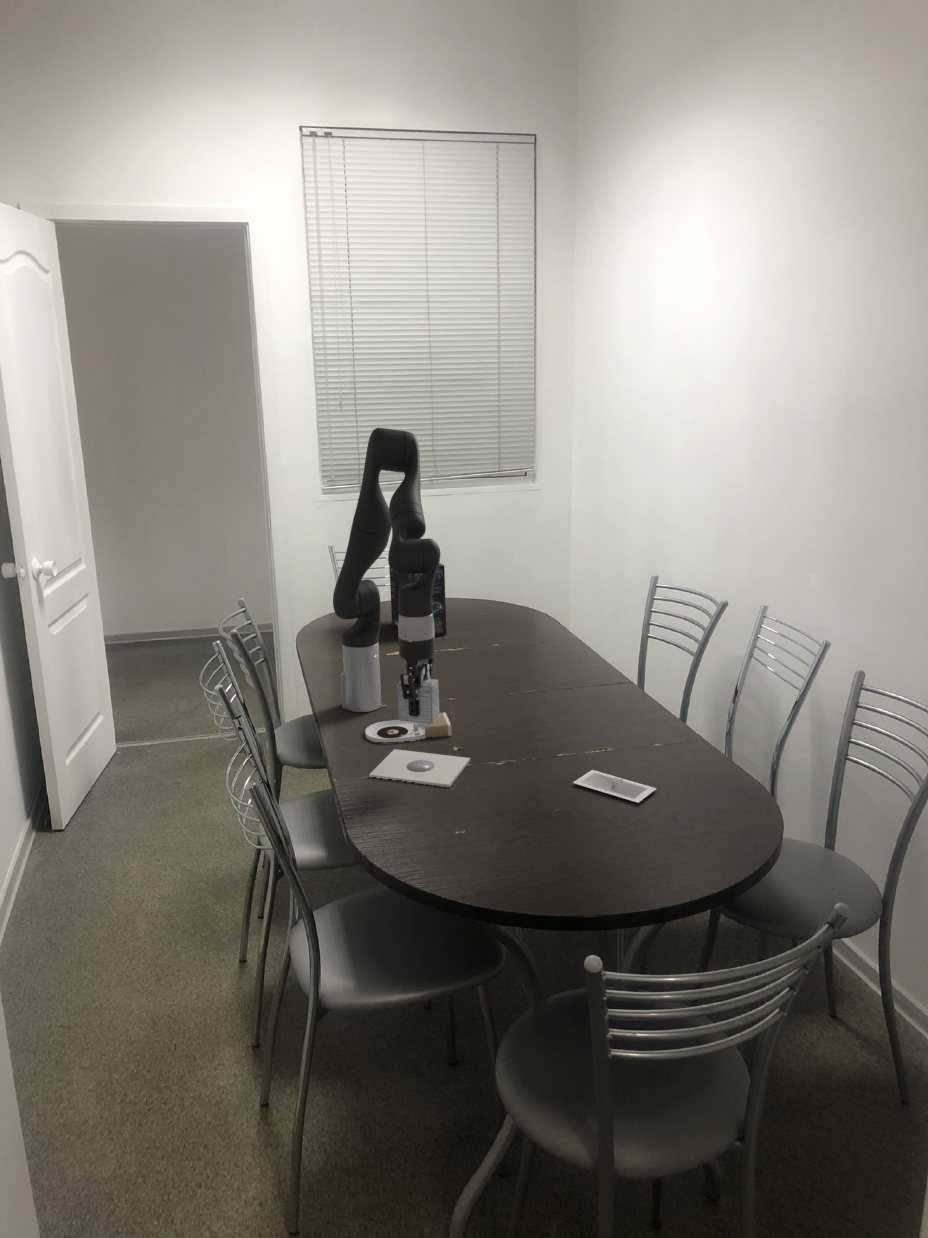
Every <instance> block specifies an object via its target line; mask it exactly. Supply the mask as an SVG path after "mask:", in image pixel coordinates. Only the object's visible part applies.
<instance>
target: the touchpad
mask: <svg viewBox="0 0 928 1238" xmlns="http://www.w3.org/2000/svg"><path fill="white" fill-rule="evenodd" d="M572 784H576V785H579V786H581V787H585V788H589V789H592V790H595V791H599V792H602V793H605V794H608V795H611V796H615V797H617V798H621V799H625V800H627V801H631V802H635V803H640V802H642V801H643V800H644V799H646V797H648V796H649V795H650V794H652V793H653V792H654V791H656V790H657V788H656V787H653V786H649V785H646V784H642V783H639V782H636V781H632V780H629V779H625V778H622V777H619V776H618V777H617V776H615V775H611V774H608V773H604V772H601V771H598V770H594V769H591V770H590V771H588V772H586V773H585V774H584V775H582V776H580V777H579V778H577V779H576V780H574V781H572Z"/></svg>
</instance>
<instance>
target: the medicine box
mask: <svg viewBox="0 0 928 1238" xmlns="http://www.w3.org/2000/svg"><path fill="white" fill-rule="evenodd" d="M414 685H418V683H414ZM396 686H397V707H398V711H397V713H398V720H399V721H406V722H418V723H430V724H434V723H435V721H436V720H437V719H438V718H439V713H440V696H439V695H440V693H439V679H438V678H437V679H435V678H432V679H424V680H423V685H422V688H421V689H420V696H419V701H420V715H419V716H418V717H415V716H410V715H409V701H408V699H403V693H402V687H401V680H399V681H398V683H397V684H396ZM415 691H416V689H415Z"/></svg>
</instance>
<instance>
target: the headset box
mask: <svg viewBox="0 0 928 1238" xmlns="http://www.w3.org/2000/svg"><path fill="white" fill-rule="evenodd" d="M388 568H389V569H388V570H389V585H390V605H391V606H390V609H391V611H390V613H391V625H392V626H393V627H395V628H396V629H398V620H399V601H398V592H399V589H400V588H401V587H402V586H404V585H407V584H410V583H414V582H416V581H418V580H419V579H420V577H421V576H422V573H419V574H397V573H395V572H394V571H392V569H391V568H390V566H388ZM445 575H446V574H445V564H443V563H440V562H439V566H438V569H437V573H436V576H435V581H434V586H433V596H432V599H433V600H432V601H433V619H434V632H435V637H438V636H445V635H448V634H447V633H448V631H447V614H446V613H447V608H446V605H447V604H446V577H445Z"/></svg>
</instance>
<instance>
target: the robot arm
mask: <svg viewBox="0 0 928 1238" xmlns="http://www.w3.org/2000/svg"><path fill="white" fill-rule="evenodd" d="M419 444H420V443H419V440H418V438H417V436H416V434H414V433H413V432H411V431H407V430H401V429H392V428H386V427H376V428H374V429H373V430H372V432H371V433H370V436H369V439H368V443H367V446H366V447H367V448H366V455H365V461H364V467H363V475H362V479H361V480H362V481H361V486H360V491H359V495H358V499H357V503H356V508H355V511H354V515H353V520H352V523H351V527H350V532H349V538H348V544H347V549H346V550H345V551H346V552H345V556H344V558H343V559H344V560H343V563H342V566H341V569H340V571H339V574H338V577H337V581H336V583H335V586H334V589H333V590H334V591H333V594H332V605H333V606H332V607H333V611H334V613H335V615H336V616H337V617H338V618H339V619H341V620H354V619H356V620H355V622H354V623H353V624H352V625H351V626H350V627H348V628H347V629H345V630H344V631H343V632H342V634H341V644H342V645H341V646H342V658H343V659H342V660H343V661H342V664H343V665H342V666H343V671H342V672H341V673H340V682H341V683H340V685H341V686H340V687H341V703H342V705H341V706H342V709H345V710H348V711H350V712H355V713H368V712H372V711H373V712H374V711H376V710H378V709H380V708H382V707H381V706H382V689H381V671H380V670H381V669H380V649H379V646H380V645H379V641H380V640H379V636H380V631H381V595H380V594H381V593H380V590H379V588H378V585H377V584H376V583H375V581H373V580H371V579H363V578H364V576H365V575H366V573H367V571H368V570H369V569H370V568H371V567H372V566H373V564H374V563H376V561H378V559H379V558H380V557H381V555H382V554H383V552H384V551H385V549H386V547H387V546H388V543H389V539H390V535H391V540H390V544H389V548H388V555H387V562H388V565H389V566H390V568H391V569H392V571H394V572H395V573H397V574H419V573H422V576H421V577H420V579H419V580H418V581H416V582H414V583H410V584H407V585H404V586H402V587H401V588H400V589H399V592H398V601H399V620H398V630H397V632H398V656H399V657H400V658H401V659H403V660H405V661H406V664H405V665H406V666H405V670H404V671H405V673H404V674H403V673H402V674H400V676H399V681H401V687H402V693H403V699H408V701H409V715H410V716H415V717H418V716H419V715H420V701H419V696H420V689H421V688H422V685H423V680H424V679H434V678H433V676H434V662H435V659H434V656H435V655H436V643H435V641H436V638H435V637H436V636H435V632H434V619H433V601H432V600H433V599H432V596H433V586H434V581H435V576H436V573H437V569H438V566H439V563H440V560H441V550H440V549H441V548H440V546H439V544H438V543H437V541H435V539H433V538H423V537H424V536H425V534H426V529H427V528H426V527H427V525H426V521H425V515H424V511H423V505H422V498H421V496H422V495H421V457H420V456H421V455H420V454H421V452H420V445H419ZM382 471H386V472H394V473H403V474H404V478H403V480H402V481H401V482H400V484H399V486H398V487H397V488H396V489H395V491H394V492H393V494H392V496H391V498H390V502H389V504H388V502H387V500H386V499H385V496H384V494H383V491H382V487H381V484H380V482H379V481H380V473H381V472H382ZM389 566H388V567H389ZM414 683H418V685H414ZM415 689H416V691H415Z"/></svg>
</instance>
